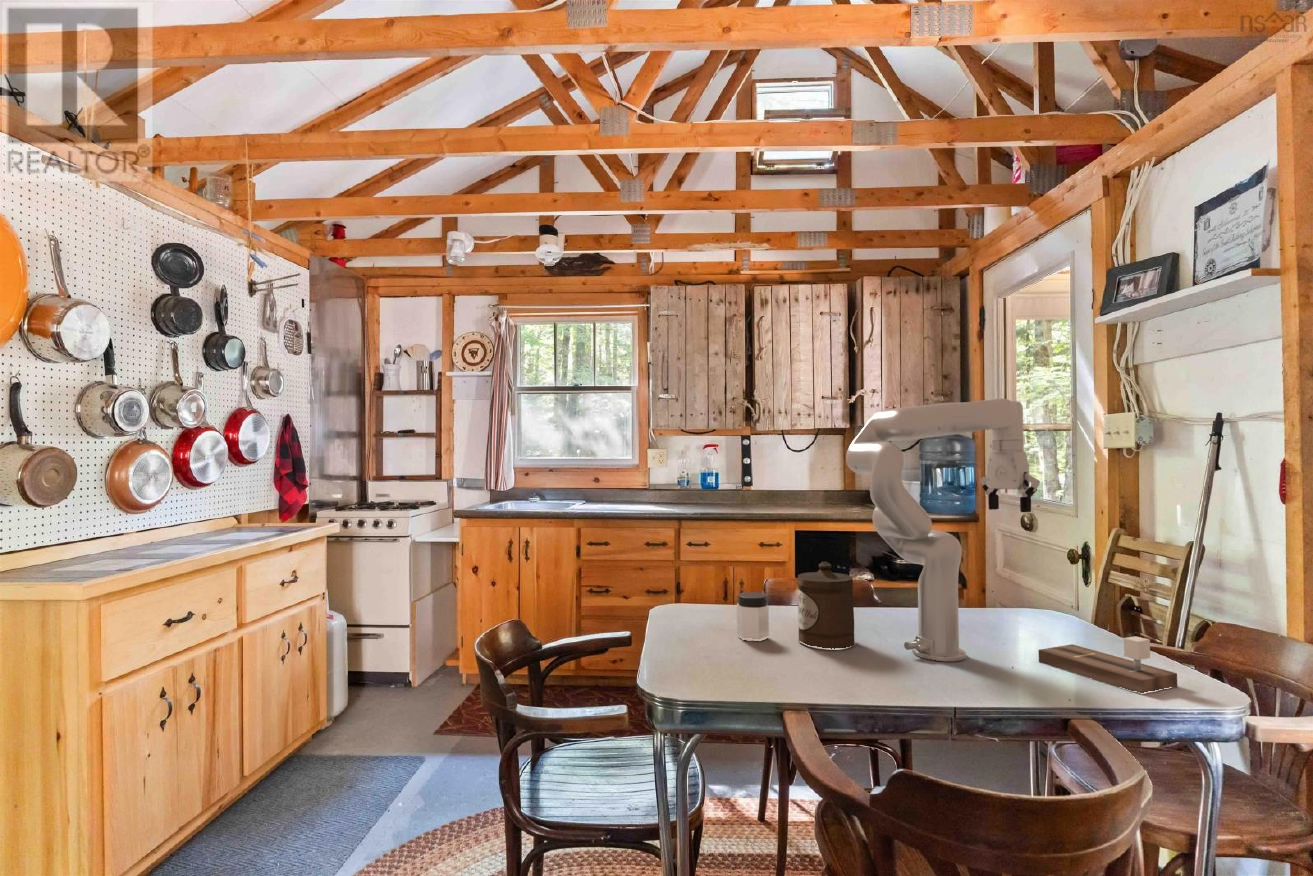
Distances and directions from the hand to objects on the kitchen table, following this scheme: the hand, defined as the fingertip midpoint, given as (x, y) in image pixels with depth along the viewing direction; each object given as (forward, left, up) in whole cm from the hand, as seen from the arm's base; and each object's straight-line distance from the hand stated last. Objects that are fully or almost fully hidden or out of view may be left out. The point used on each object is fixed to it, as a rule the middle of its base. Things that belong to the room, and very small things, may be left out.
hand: (1009, 510), depth 177 cm
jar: (-60, +33, -36) cm, 78 cm away
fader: (0, -32, -33) cm, 46 cm away
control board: (0, -25, -36) cm, 44 cm away
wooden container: (-44, +21, -36) cm, 61 cm away
